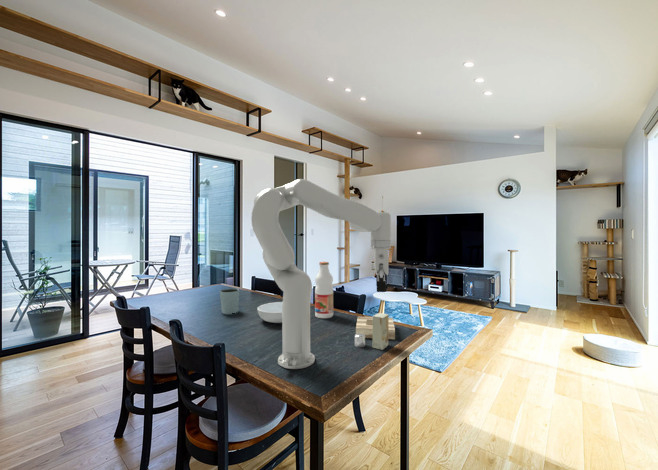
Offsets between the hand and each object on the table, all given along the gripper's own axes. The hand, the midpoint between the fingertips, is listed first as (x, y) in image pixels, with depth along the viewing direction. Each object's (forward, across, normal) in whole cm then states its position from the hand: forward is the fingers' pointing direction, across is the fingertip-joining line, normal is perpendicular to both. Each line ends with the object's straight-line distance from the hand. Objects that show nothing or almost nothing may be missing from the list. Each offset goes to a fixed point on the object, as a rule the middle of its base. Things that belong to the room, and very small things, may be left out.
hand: (380, 289), depth 116 cm
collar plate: (+22, +16, +2) cm, 27 cm away
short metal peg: (+22, 0, +8) cm, 24 cm away
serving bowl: (+22, +26, +49) cm, 60 cm away
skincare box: (+22, 0, 0) cm, 23 cm away
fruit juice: (+22, +36, +28) cm, 51 cm away
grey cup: (+22, +36, +80) cm, 91 cm away
